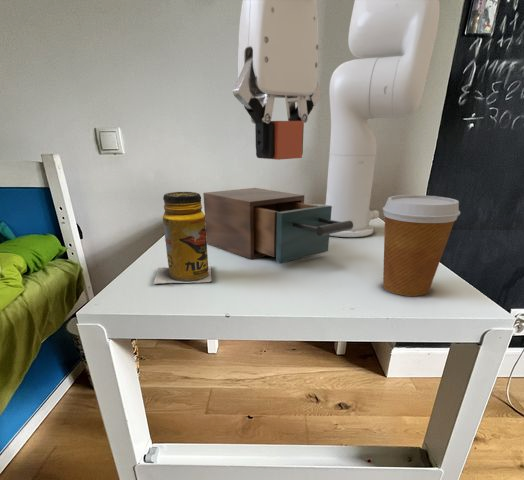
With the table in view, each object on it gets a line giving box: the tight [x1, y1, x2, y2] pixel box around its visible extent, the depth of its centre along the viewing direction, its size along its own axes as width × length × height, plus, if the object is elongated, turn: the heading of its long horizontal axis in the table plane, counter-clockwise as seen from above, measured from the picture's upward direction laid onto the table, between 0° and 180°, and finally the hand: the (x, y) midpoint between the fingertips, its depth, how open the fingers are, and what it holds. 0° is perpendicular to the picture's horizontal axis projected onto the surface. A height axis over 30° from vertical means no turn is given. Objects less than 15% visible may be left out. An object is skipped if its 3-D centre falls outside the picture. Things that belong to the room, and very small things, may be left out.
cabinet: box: [202, 187, 305, 260], centre depth 74 cm, size 15×13×10 cm
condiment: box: [152, 191, 212, 285], centre depth 57 cm, size 7×8×12 cm
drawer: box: [253, 201, 353, 264], centre depth 67 cm, size 20×11×8 cm, turn 39°
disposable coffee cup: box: [382, 194, 461, 297], centre depth 53 cm, size 10×10×12 cm
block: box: [256, 120, 304, 161], centre depth 52 cm, size 4×4×4 cm
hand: (279, 155), depth 53 cm, fingers closed on block, 4 cm apart
